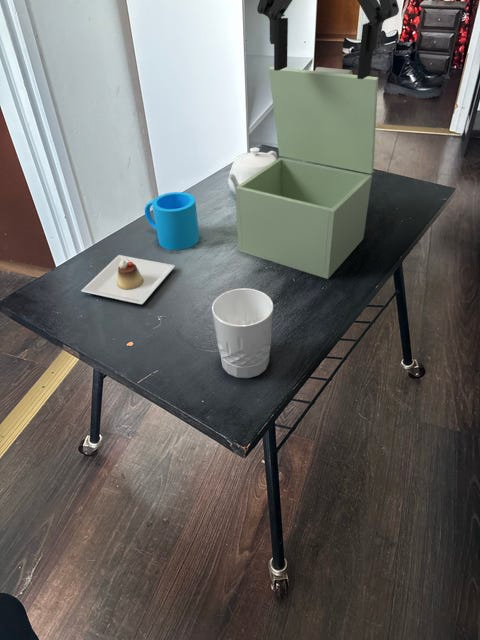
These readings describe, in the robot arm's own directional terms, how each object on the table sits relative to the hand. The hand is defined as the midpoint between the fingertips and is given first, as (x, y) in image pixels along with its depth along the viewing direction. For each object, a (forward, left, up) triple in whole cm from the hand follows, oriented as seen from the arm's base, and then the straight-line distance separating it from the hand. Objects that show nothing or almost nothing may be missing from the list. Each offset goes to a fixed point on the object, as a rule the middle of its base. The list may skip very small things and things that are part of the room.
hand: (320, 72), depth 70 cm
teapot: (+22, -16, -30) cm, 41 cm away
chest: (+2, -1, -30) cm, 30 cm away
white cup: (-6, +31, -30) cm, 44 cm away
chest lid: (+2, -6, -9) cm, 11 cm away
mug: (+26, +9, -30) cm, 41 cm away
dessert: (+22, +25, -30) cm, 45 cm away
